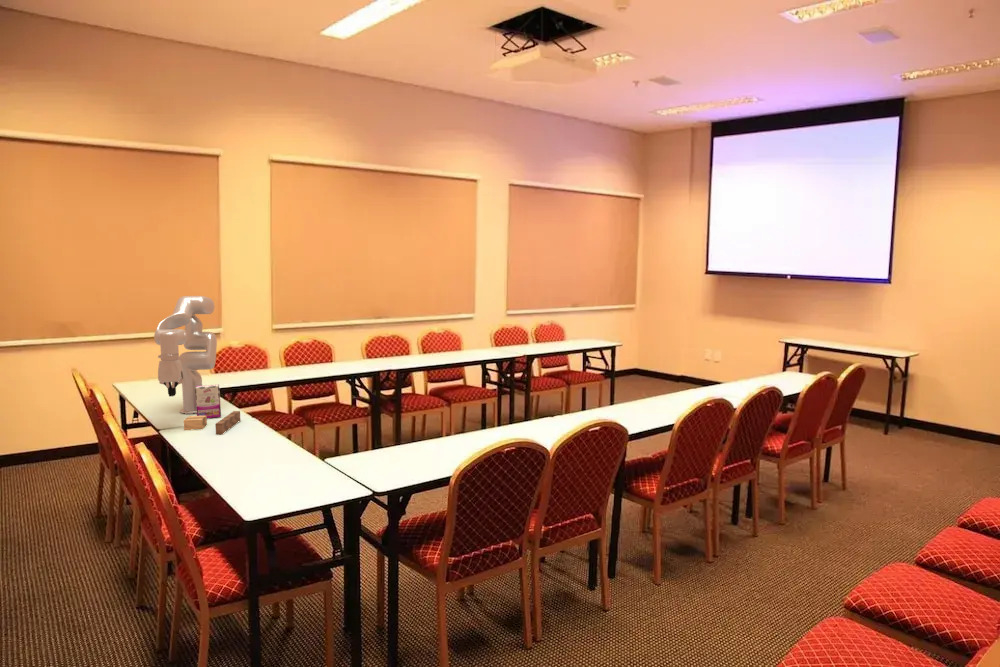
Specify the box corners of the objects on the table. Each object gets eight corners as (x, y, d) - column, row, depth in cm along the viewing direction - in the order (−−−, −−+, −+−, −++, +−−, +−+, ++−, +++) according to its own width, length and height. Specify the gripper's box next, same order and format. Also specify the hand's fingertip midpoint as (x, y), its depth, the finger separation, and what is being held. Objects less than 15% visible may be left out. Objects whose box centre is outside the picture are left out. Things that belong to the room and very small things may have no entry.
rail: (234, 420, 329) (233, 411, 329) (240, 420, 329) (239, 411, 329) (215, 434, 306) (215, 423, 305) (222, 434, 306) (221, 423, 305)
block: (189, 426, 320) (189, 416, 320) (207, 425, 321) (206, 415, 321) (184, 430, 312) (183, 420, 312) (201, 430, 313) (201, 419, 313)
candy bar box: (221, 415, 340) (219, 384, 338) (221, 417, 335) (219, 385, 333) (197, 417, 336) (195, 385, 334) (196, 419, 331) (195, 387, 329)
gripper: (150, 358, 308) (152, 397, 310) (182, 358, 308) (184, 397, 311) (157, 356, 315) (159, 394, 317) (189, 356, 316) (191, 394, 318)
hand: (172, 395), depth 314 cm, fingers closed
